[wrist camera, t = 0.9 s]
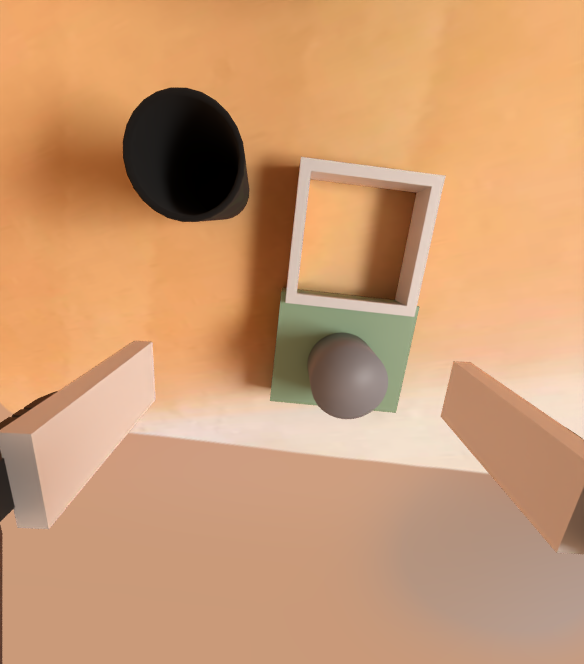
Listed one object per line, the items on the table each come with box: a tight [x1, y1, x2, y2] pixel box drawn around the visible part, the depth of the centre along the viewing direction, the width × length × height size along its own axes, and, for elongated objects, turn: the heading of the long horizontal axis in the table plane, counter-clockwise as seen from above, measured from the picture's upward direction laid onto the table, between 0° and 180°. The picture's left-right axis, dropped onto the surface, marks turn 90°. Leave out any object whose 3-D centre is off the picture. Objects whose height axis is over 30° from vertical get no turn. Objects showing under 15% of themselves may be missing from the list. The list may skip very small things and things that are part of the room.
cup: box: [123, 88, 249, 222], centre depth 26 cm, size 8×8×12 cm
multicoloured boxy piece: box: [270, 157, 445, 419], centre depth 31 cm, size 24×14×8 cm, turn 174°
